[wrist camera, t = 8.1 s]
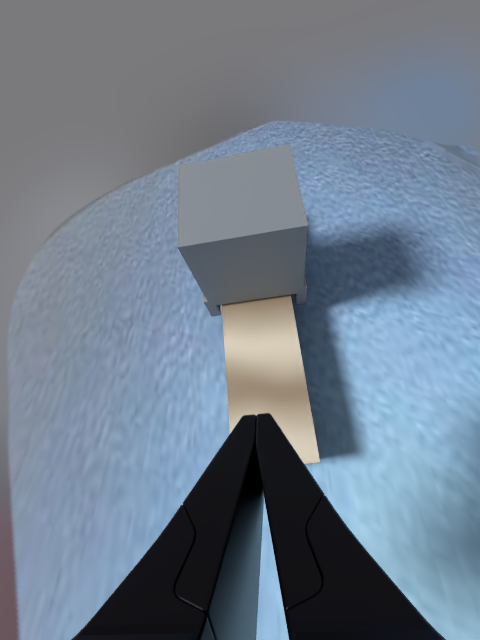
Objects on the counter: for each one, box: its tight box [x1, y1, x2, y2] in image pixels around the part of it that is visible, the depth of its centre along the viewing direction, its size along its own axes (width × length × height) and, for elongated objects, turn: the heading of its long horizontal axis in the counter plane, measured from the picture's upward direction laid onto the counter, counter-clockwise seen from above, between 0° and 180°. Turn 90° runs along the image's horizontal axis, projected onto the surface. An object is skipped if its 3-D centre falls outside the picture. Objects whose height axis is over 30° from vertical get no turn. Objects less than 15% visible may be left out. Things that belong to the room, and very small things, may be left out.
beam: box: [222, 294, 320, 464], centre depth 22 cm, size 20×5×3 cm, turn 5°
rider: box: [178, 144, 308, 316], centre depth 20 cm, size 6×7×8 cm
